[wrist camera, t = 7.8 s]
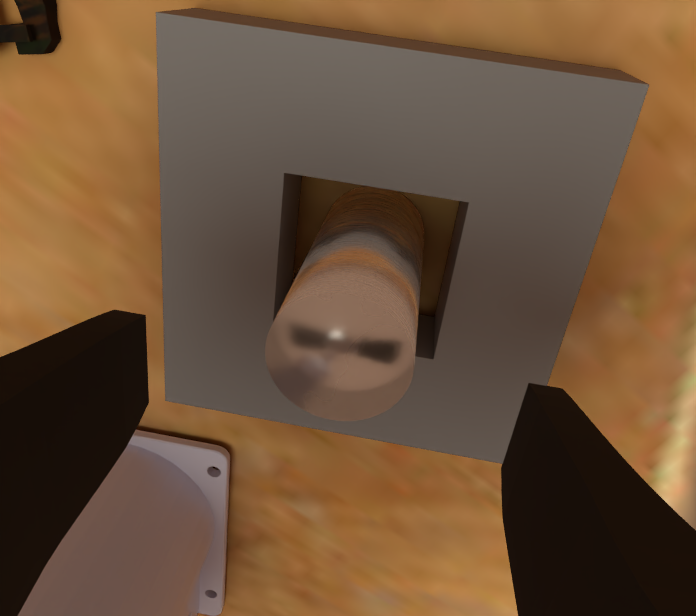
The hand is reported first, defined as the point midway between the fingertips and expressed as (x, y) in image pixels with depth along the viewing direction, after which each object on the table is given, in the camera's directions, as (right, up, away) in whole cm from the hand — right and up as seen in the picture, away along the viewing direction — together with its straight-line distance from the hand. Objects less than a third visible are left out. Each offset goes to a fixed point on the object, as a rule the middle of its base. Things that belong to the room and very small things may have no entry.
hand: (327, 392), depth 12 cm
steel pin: (+1, +4, +7) cm, 8 cm away
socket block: (+1, +4, +7) cm, 8 cm away
